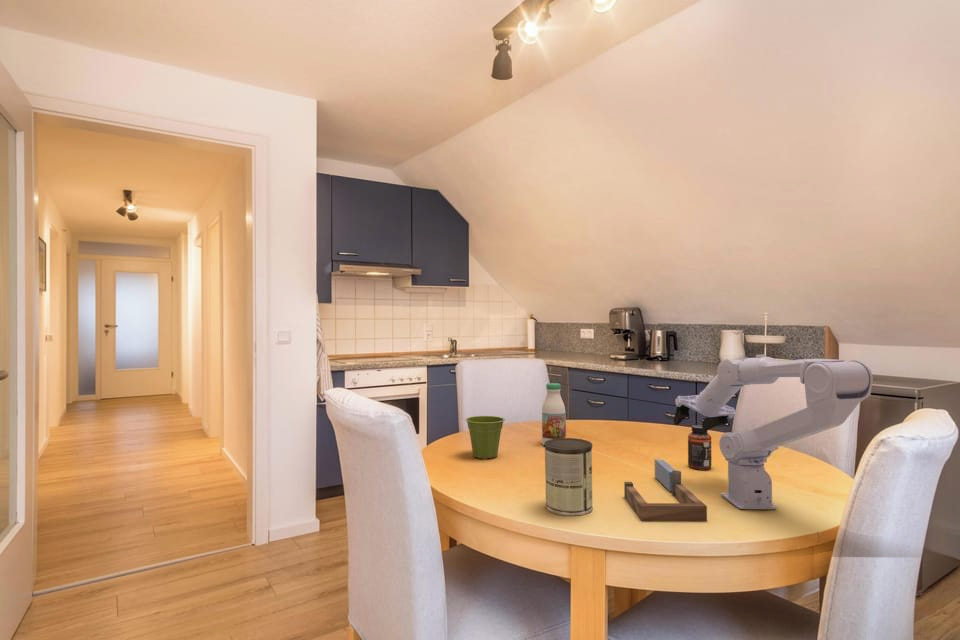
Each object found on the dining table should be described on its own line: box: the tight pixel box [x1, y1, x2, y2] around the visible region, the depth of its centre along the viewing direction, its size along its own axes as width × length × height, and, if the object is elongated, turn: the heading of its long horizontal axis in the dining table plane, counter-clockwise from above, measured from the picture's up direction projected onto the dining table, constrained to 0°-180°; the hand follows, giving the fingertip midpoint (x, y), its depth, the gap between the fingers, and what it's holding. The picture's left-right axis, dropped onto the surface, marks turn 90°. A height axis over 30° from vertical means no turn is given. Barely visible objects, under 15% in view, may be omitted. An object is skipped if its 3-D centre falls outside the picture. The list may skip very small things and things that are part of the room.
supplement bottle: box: [687, 424, 712, 471], centre depth 146 cm, size 6×6×11 cm
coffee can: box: [544, 437, 594, 517], centre depth 116 cm, size 10×10×14 cm
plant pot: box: [464, 415, 506, 460], centre depth 160 cm, size 12×12×11 cm
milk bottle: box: [541, 382, 567, 446], centre depth 173 cm, size 8×8×20 cm
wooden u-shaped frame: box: [623, 469, 708, 522], centre depth 116 cm, size 17×13×6 cm
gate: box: [654, 458, 676, 492], centre depth 131 cm, size 12×2×4 cm, turn 178°
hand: (689, 424), depth 138 cm, fingers open, 7 cm apart
